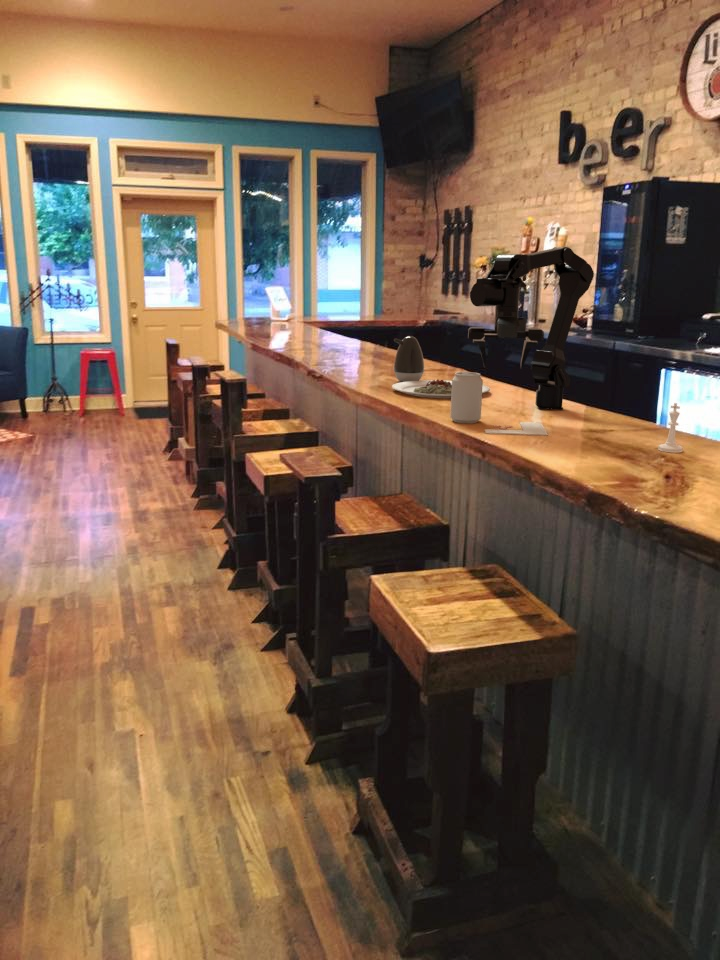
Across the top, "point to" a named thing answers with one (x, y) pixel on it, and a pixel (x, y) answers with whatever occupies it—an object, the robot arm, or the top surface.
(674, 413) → the chess piece
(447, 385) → the plated food
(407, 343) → the pump dispenser
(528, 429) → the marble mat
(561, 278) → the robot arm
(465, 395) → the can
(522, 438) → the top surface
